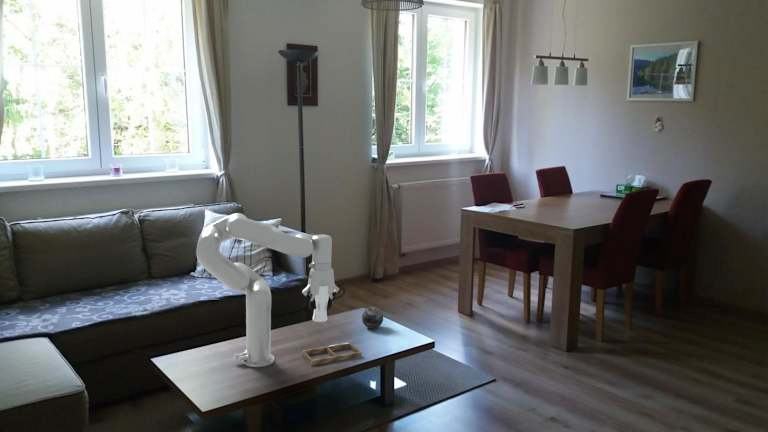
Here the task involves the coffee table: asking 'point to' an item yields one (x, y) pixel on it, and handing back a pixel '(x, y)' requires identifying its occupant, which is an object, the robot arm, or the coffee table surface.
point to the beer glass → (321, 304)
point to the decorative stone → (372, 317)
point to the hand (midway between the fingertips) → (320, 308)
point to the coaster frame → (331, 353)
